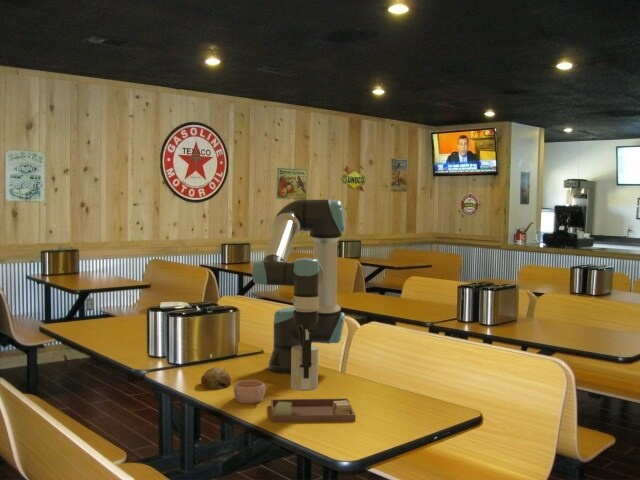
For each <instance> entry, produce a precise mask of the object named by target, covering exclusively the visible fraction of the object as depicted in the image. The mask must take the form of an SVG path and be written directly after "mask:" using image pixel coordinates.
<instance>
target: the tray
mask: <svg viewBox="0 0 640 480" xmlns="http://www.w3.org/2000/svg"><path fill="white" fill-rule="evenodd" d="M344 400H346V401H347V402H348V403H349V404H350V414H333V401H344ZM278 402H292V415H275V414H276V404H277V403H278ZM270 413H271V415H270V417H271V423H311V422H312V423H318V422H319V423H321V422H322V423H323V422H328V423H330V422H356V413H355V411H354V409H353V406H352V404H351V402H350V400H349V398H289V399H288V398H284V399H281V398H280V399H279V398H278V399H274V398H273V399H272V398H271V399H270Z"/></svg>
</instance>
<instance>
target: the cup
mask: <svg viewBox="0 0 640 480" xmlns="http://www.w3.org/2000/svg"><path fill="white" fill-rule="evenodd" d="M305 363H308V362H305ZM311 364H312V365H311V376H310V389H301V367H300V365H302V346H300V345H297V346H293V347H292V349H291V373H290V388H291V389H292V390H295V391H299V392H309V391H315V390H317V389H319V387H318V386H319V347H318V346H316V345H312V344H311Z"/></svg>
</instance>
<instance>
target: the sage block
mask: <svg viewBox="0 0 640 480" xmlns="http://www.w3.org/2000/svg"><path fill="white" fill-rule="evenodd" d="M275 415H292V402H278V403H277V404H276V414H275Z"/></svg>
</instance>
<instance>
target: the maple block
mask: <svg viewBox="0 0 640 480" xmlns="http://www.w3.org/2000/svg"><path fill="white" fill-rule="evenodd" d="M350 404H351V403H350ZM350 404H349V403H348V402H347V401H346V400H344V401H333V414H350Z"/></svg>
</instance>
